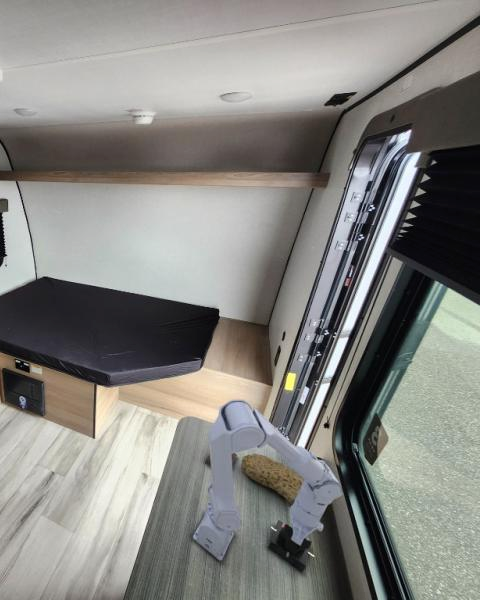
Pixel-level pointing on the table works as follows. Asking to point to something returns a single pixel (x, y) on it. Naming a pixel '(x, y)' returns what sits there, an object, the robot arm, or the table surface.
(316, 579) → the table surface
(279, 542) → the panel
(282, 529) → the tap handle
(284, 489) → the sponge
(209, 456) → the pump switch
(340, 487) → the robot arm
